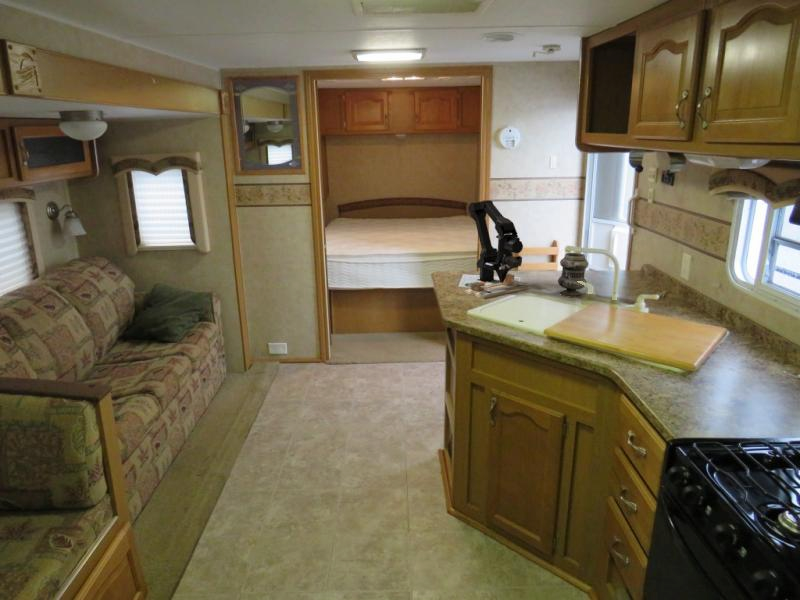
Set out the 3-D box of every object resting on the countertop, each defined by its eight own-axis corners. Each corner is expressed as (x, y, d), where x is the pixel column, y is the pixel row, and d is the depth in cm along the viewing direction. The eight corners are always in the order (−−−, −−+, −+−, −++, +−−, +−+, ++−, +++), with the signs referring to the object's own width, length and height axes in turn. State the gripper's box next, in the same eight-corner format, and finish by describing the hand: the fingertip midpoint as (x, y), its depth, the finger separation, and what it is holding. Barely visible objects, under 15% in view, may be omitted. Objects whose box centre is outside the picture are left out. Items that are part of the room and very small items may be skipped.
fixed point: (470, 289, 244) (471, 283, 244) (477, 288, 247) (477, 281, 246) (486, 294, 237) (486, 287, 236) (492, 292, 240) (493, 286, 239)
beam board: (464, 292, 244) (464, 289, 243) (510, 282, 261) (510, 279, 261) (483, 298, 235) (483, 295, 234) (530, 287, 252) (530, 284, 252)
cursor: (501, 282, 256) (502, 274, 255) (507, 281, 258) (507, 273, 257) (517, 287, 249) (517, 278, 248) (523, 285, 251) (523, 277, 250)
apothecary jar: (570, 299, 234) (575, 258, 229) (551, 292, 244) (554, 253, 239) (591, 296, 239) (595, 255, 234) (571, 289, 250) (574, 250, 244)
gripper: (502, 254, 237) (500, 289, 242) (531, 249, 248) (529, 283, 252) (484, 250, 246) (482, 284, 250) (513, 246, 256) (510, 278, 261)
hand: (501, 282), depth 253 cm, fingers closed
